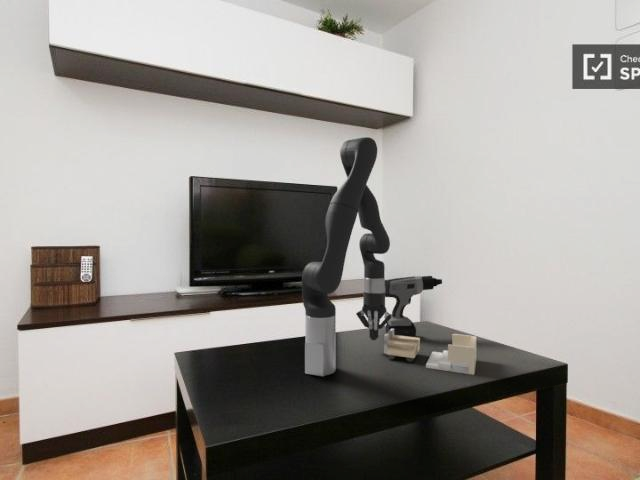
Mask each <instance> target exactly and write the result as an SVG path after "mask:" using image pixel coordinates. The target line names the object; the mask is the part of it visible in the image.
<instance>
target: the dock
mask: <svg viewBox="0 0 640 480" xmlns="http://www.w3.org/2000/svg"><path fill="white" fill-rule="evenodd" d="M451 336H452V337H451V338H452V339H451V340H452V341H451V343H452V344H451V343H449V344H448V345H447V350H446V349H445V350H444V349H443V351H442V352H440V351H432V352H431V353H430V356H429V358H428V360H427V362H426V364H425V368H427V369H433V370H438V371H445V372H452V373H460V374H466V375H472V376H474V375H475V374H476V373H475V372H476V363H477V340H478V339H477V336H476V335H469V334H468V335H467V334H460V333H452V335H451Z"/></svg>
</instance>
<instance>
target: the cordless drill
mask: <svg viewBox="0 0 640 480" xmlns="http://www.w3.org/2000/svg"><path fill="white" fill-rule="evenodd" d="M441 284H443V279H441V278H436V277H433V276H432V275H424V276H423V275H422V276H421V275H417V276H416V275H415V276H406V277H405V276H404V277H396V278H391V279H385V298H393V299H395V305H394V307H393V308H392V311H391V314H392V317H391V319H390V320H389V321H388V322H387V323H386V325H385V334H386V333H387V332H388V331H389V330H390V329H391V328H392V329H394V335H399V336H408V337H416V338H417V327H416V325H415V323H413V321H412V320H411V319H410V318H409V317H407V316H404V310H405V307H406V306H408V305H409V304H411V301H412V297H413V296H416V295H419V294H421V293H422V292H423V291H427V290H428V291H429V290H431V291H432V290H434V287H437V286H439V285H441Z"/></svg>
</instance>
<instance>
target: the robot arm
mask: <svg viewBox="0 0 640 480" xmlns="http://www.w3.org/2000/svg"><path fill="white" fill-rule="evenodd" d="M339 154H340V155H339V156H340V161H341V163H342V166H343V170H344V172H345V175H346V179H345V180H344V182H343V184H342V185H341V186H340V187H339V188H338V189H337V190H336V192H335V193H334V194H333V196H332V197H331V200H330V202H329V206H328V209H327V212H326V215H325V220H324V221H325V223H324V224H325V232H326V240H327V241H326V242H327V243H326V248H325V253H324V255H323V258H322V261H311V262H309V263H307V265H305V266H304V269H303V271H302V274H301V292H302V293H301V294H302V303H303V308H304V309H305V310H304V311H305V313H304V314H305V327H304V328H305V342H304V373H305V374H307V375H311V376H312V375H313V376H317V377H325V376H329V375H331V374H334V373H335V372H336V346H337V345H336V344H337V343H336V330H337V329H336V328H337V327H336V325H337V323H336V322H337V321H336V320H337V319H336V316H337V315H336V313H337V310H336V305H335V304H334V303H333V302H332V301H331V300H330V298H329V295H330V294H333V293H335V292H336V290H338V288H339V286H340V284H341V282H342V277H343V274H344V273H343V272H344V269H345V267H344V266H345V261H346V256H347V253H348V252H347V251H348V247H349V243H350V241H351V236H352V233H353V229H354V226H355V223H356V221H357V217H358V218H359V224H360V226H361V228H362V229H364V230H368V231H370V232H371V233H369V232H368V233H364V234H363V235H362V236H360V239H359V245H358V247H359V251H360V256H361V258H362V263H363V266H364V267H363V269H364V271H363V272H364V273H363V275H364V276H363V277H364V278H363V285H362V286H363V287H362V288H363V293H362V295H363V297H362V298H363V300H362V301H363V305H362V308H361V309H360V310H359V311H357V312H356V317H358V319H359V321H360V322H361V323H362V325H363V326H364V328H368V329H369V330H368V331H369V339H370V341H376V340H377V339H379V331H380V330H382V329H383V328H384V327H386V324H387V322H388V321H389V320H390V319H391V317H392V313H389V312H388V311H387V308H386V297H385V280H386V279H385V271H386V270H385V268H386V267H385V263H384V261H381V260H379V259H377V258H376V257H375V255H383V254H386V253H388V251H389V249H390V246H391V240H390V237H389V235H388V233H387V230H386V228H385V226H384V224H383V222H382V219H381V214H380V210H379V204H378V201H377V199H376V197H375V195H374V194H373V192H372V190H371V189H370V188H369V186H368V185H367V183H368V180H369V179H370V176H371V174H372V171H373V168H374V167H375V164H376V161H377V157H378V146H377V142H376V141H375V140H374V139H373V138H372V137H359V138H352V139H348V140H346V141H344V142H343V143H342V144H341V147H340V150H339ZM383 316H384V320H382V322H381V323H380V321H381V319H382V318H383Z"/></svg>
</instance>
